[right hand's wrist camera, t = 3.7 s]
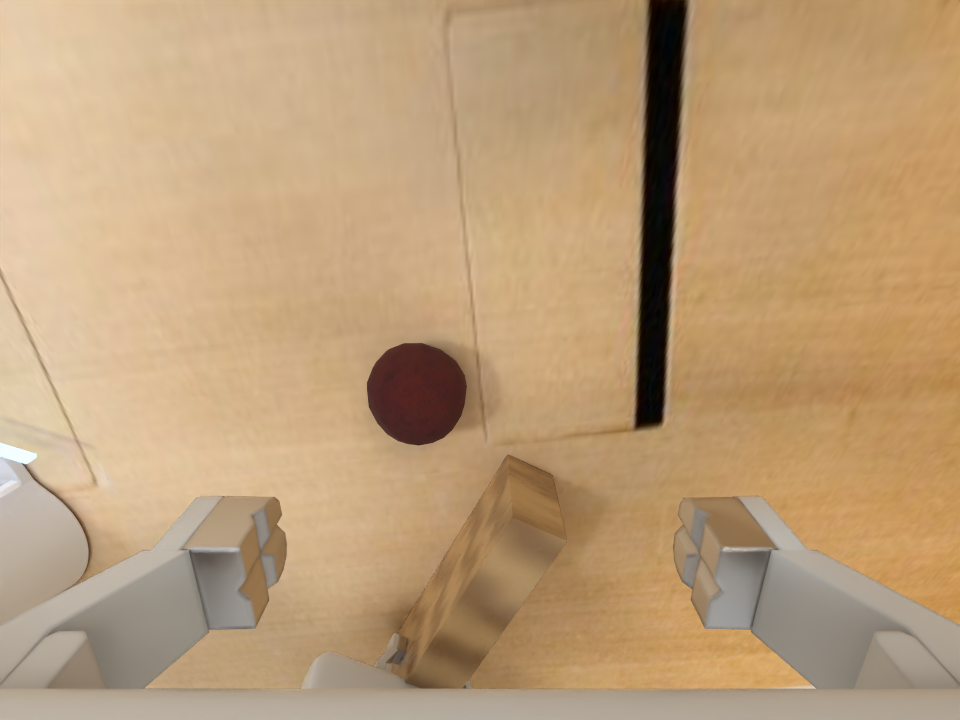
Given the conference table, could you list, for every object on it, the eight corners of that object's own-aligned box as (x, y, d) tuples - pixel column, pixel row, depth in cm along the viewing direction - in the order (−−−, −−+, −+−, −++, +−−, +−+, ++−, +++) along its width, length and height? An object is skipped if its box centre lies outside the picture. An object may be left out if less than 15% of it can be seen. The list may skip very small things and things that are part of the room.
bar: (507, 454, 45) (512, 517, 37) (552, 475, 46) (567, 541, 38) (392, 641, 53) (375, 727, 45) (432, 657, 54) (423, 744, 46)
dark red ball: (414, 431, 44) (403, 478, 38) (357, 361, 42) (335, 398, 36) (486, 387, 43) (487, 428, 36) (431, 312, 41) (421, 341, 34)
